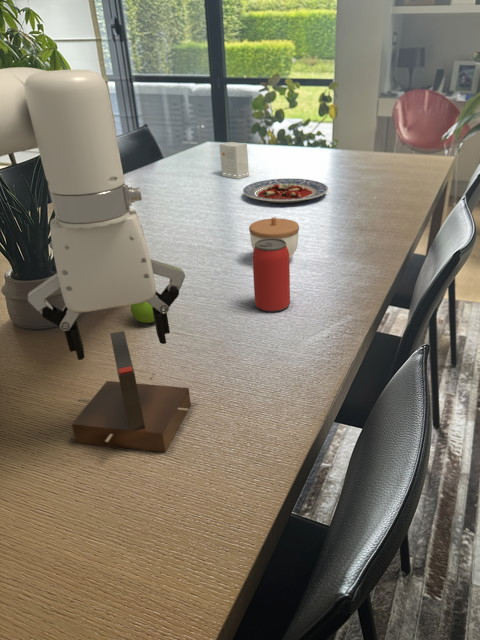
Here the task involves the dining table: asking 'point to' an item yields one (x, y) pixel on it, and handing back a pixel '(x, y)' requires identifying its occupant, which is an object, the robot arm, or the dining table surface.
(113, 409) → the frame stand
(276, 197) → the ceramic plate
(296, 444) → the dining table surface
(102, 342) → the dining table surface
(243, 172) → the small box
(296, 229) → the trinket box
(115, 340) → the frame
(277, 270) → the beer can
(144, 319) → the green ball on stick
